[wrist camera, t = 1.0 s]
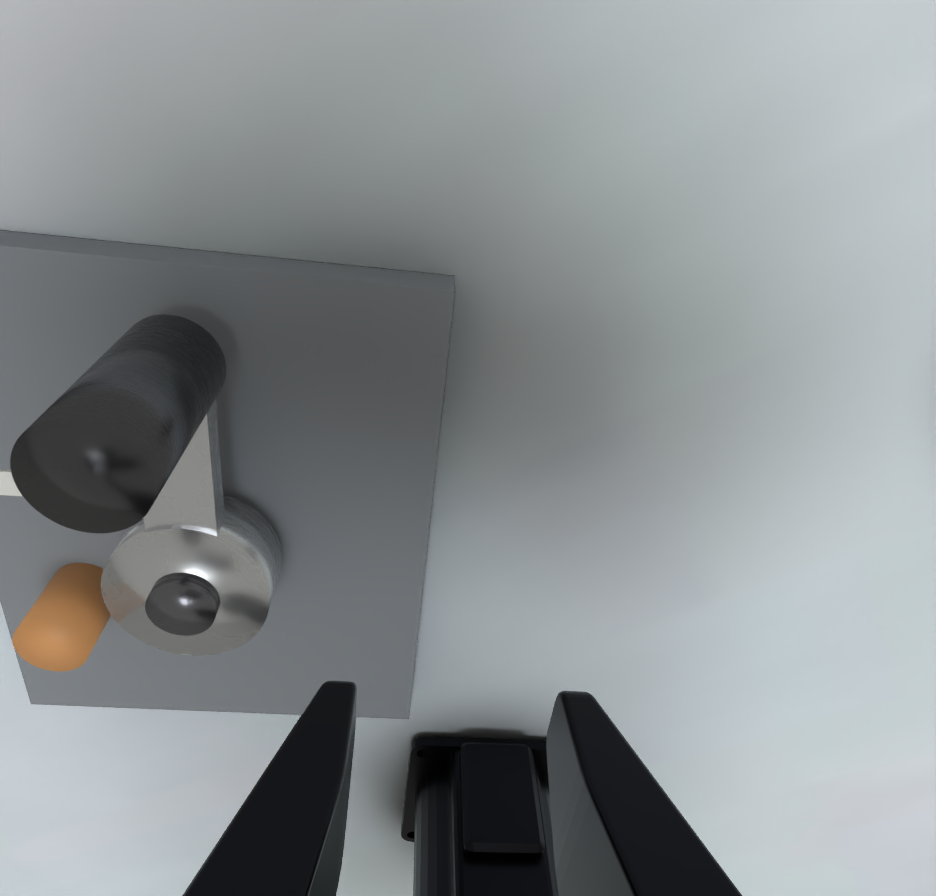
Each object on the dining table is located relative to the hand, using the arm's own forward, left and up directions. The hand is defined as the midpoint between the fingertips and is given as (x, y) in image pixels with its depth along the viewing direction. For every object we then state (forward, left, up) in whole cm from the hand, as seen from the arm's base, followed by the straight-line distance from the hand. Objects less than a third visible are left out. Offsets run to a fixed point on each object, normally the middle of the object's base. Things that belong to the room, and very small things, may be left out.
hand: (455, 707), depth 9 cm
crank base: (-6, +6, -12) cm, 15 cm away
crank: (-4, +6, -11) cm, 13 cm away
